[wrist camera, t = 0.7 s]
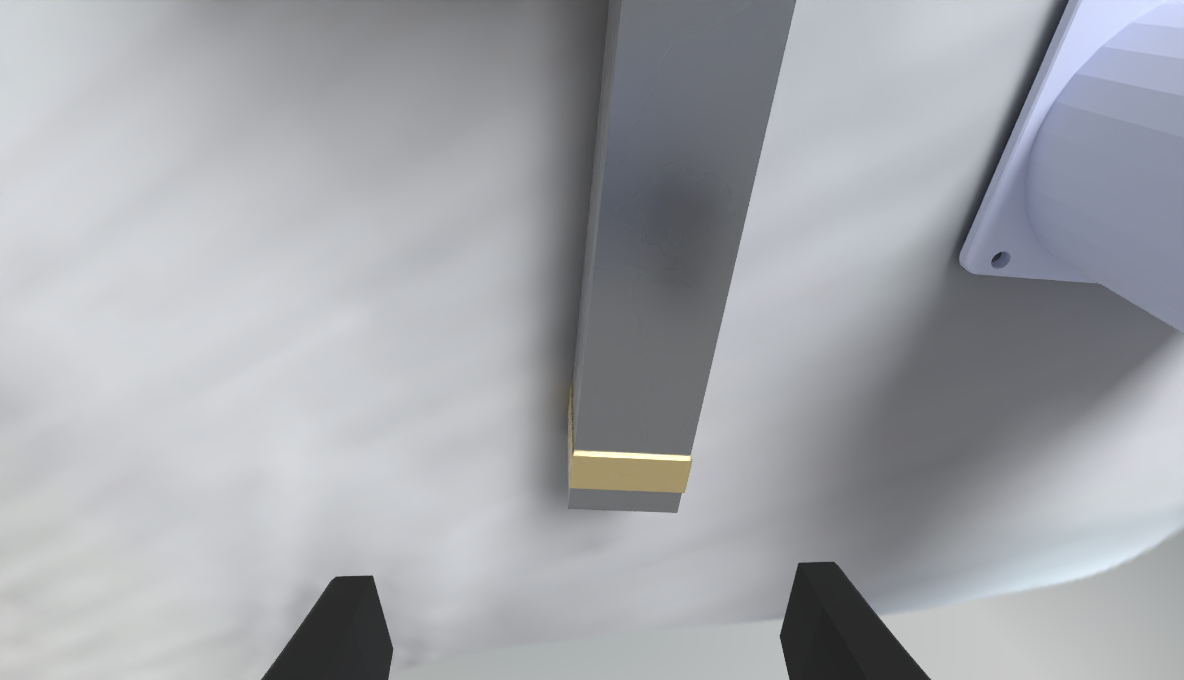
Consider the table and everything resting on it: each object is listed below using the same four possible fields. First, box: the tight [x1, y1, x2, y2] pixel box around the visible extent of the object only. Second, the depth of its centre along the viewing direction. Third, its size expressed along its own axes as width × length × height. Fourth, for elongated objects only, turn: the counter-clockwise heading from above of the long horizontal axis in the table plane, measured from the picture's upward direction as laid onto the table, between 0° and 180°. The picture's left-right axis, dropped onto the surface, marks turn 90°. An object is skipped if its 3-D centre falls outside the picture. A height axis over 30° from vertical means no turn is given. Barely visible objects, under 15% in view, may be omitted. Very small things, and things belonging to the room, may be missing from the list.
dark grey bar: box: [567, 0, 796, 513], centre depth 15 cm, size 3×16×4 cm, turn 175°
